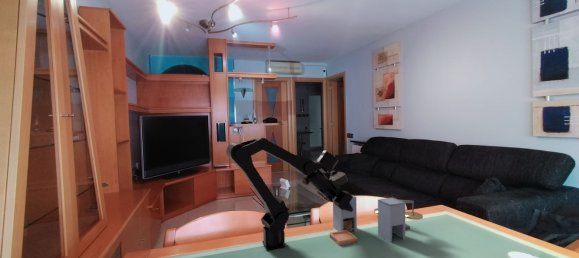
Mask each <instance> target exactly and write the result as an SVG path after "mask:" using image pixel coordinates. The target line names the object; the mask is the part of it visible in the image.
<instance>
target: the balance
mask: <svg viewBox="0 0 579 258" xmlns="http://www.w3.org/2000/svg"><path fill="white" fill-rule="evenodd" d="M399 200H400V201H402V202H405V204H411V205H412V206H411V207H412V210H411V211H405V219H409V220H414V221H415V220H416V221H417V220H423V217H424V216H423V214H422V213H420V212H416V211H414V207H415V206H414V205H415V201H414V200H410V199H409V200H408V199H407V200H405V199H399ZM373 213H375V214H377V215H378V207H377V208H374V209H373ZM406 230H411V226H410V225H409V224H407V223H405V231H406Z"/></svg>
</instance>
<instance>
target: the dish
mask: <svg viewBox="0 0 579 258" xmlns="http://www.w3.org/2000/svg"><path fill="white" fill-rule="evenodd" d="M329 238H330V239H331V240H332V241H334V243H336V244H337V245H338V246H345V245H349V244H355V243H357V242H358V237H357V236H356V235H355V234H353V233H352V232H351V231H348V230H342V231H337V230H336V231H331V232H329Z"/></svg>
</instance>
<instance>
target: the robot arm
mask: <svg viewBox="0 0 579 258" xmlns="http://www.w3.org/2000/svg"><path fill="white" fill-rule="evenodd" d="M261 151H263V152H265V153H267V154H269V155H271V156H273V157H274V158H276V159H279V160H281V161H282V162H284V163H286V164H287V165H288V166H289V167H290V168H292V169H293V170H294V171H296V172H297V173H299V174H302V175H304V176H302V182H301V184H302V185H306V186H308V185H309V184H311V185H312V186H313V187H314V188H315V190H316V193H317V195H319V197H321V198H322V199H324V200H326V201H328V202H330V203H333V199H334V198H335V197H336V199H335V200H334V204H335V205H336V207H338V208H339V209H341V210H347V211H350V212H352V211H353V208H352V206H351V204H350V201H351V200H352V198H353V196H354V195H353V194H351V193H350V192H348V191H346V190H341V191H340V189H341V186H343V185H344V184H347V183H348V182H349V179H348V177H347V175H346V173H345V172H342V171H335V170H333V169H334V168H335V166H336V165H337V163H338V162H339V159H338V158H337V156H336V155H334V154H332V153H330V152H329V151H327V150H323V151H322V152H321V154H320V156H319V157H318V158H317V159H316V160H314V159H311V158H306V157H304V156H301V155H297V154H294V153H292V152H291V151H288V150H287V149H286V148H283V147H281V146H279V145H277V144H275V143H273V142H271V141H270V140H268V138H265V137H262V136H258V137H255V138H253V139H250V140H246V141H242V142H236V141H235V142H231V143H229V144H228V145H227V147H226V151H225V153H226V155H227V157H228V158H229V160H231V162H233V163H234V164H235V166H237V167H238V168H239V169H240V170H241V171H242V173H243V174H244V175H245V177H246V178H247V180H248V182H249V183H250V185H251V187H253V189H254V190H255V192H256V194H257V195H258V197H259V198H260V199H261V201H262V203H263V208H264V210H265V213H264V214H263V216H262V217H261V218H260V222H261V223H262V225H263V229H262V230H263V233H262V235H263V240H262V245H263V247H264V248H265V251H271V250H275V249H283V248H285V247H286V245H285V242H286V241H285V239H286V238H285V234H286V233H285V230H286V229H285V228H286V225H287V222H288V220H289V218H290V212H289V210H290V208H289V207H287V205H286V203H285V201H284V199H282V198H280V197H279V196H278V195H276V196H274V194H273V193H272V191H271V190H270V188H269V187H268V185H267V184H266V182H265V180H264V179H263V177H262V175H260V173H259V172H258V170H257V169H256V167H255V165H254V162H253V157H252V156H254V155H256V154H257V153H259V152H261ZM327 173H328V174H329V175H330V176H329V178H328V177H327V176H326V175H325V174H327ZM352 195H353V196H352Z"/></svg>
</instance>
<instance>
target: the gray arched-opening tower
mask: <svg viewBox="0 0 579 258" xmlns="http://www.w3.org/2000/svg"><path fill="white" fill-rule="evenodd" d="M400 200H401V199H397V198H396V197H388V198H387V197H385V198H379V199H377V208H378V214H377V236H379V237H381V238H383V239H384V240H386V241H387V242H388V243H393V234H394V235H396V236H398V237H400V238H401V239H402V240H406V230H405V224H406V217H405V212H406V203H405V202H402V201H400Z"/></svg>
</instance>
